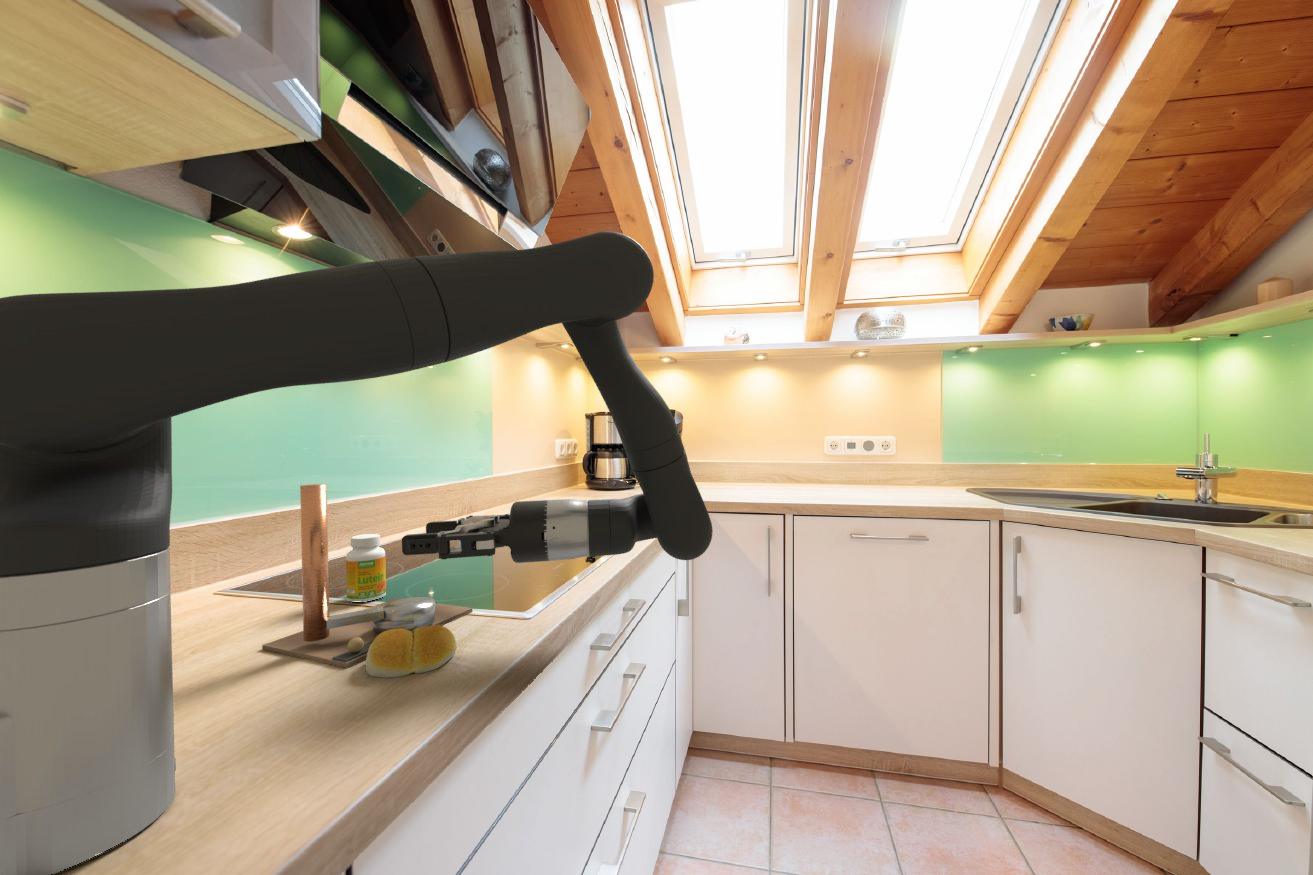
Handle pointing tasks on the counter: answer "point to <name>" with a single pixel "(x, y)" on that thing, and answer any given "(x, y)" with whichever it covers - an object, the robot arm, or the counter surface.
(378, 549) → the supplement bottle
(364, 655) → the stand
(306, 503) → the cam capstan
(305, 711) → the counter surface
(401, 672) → the bread roll
